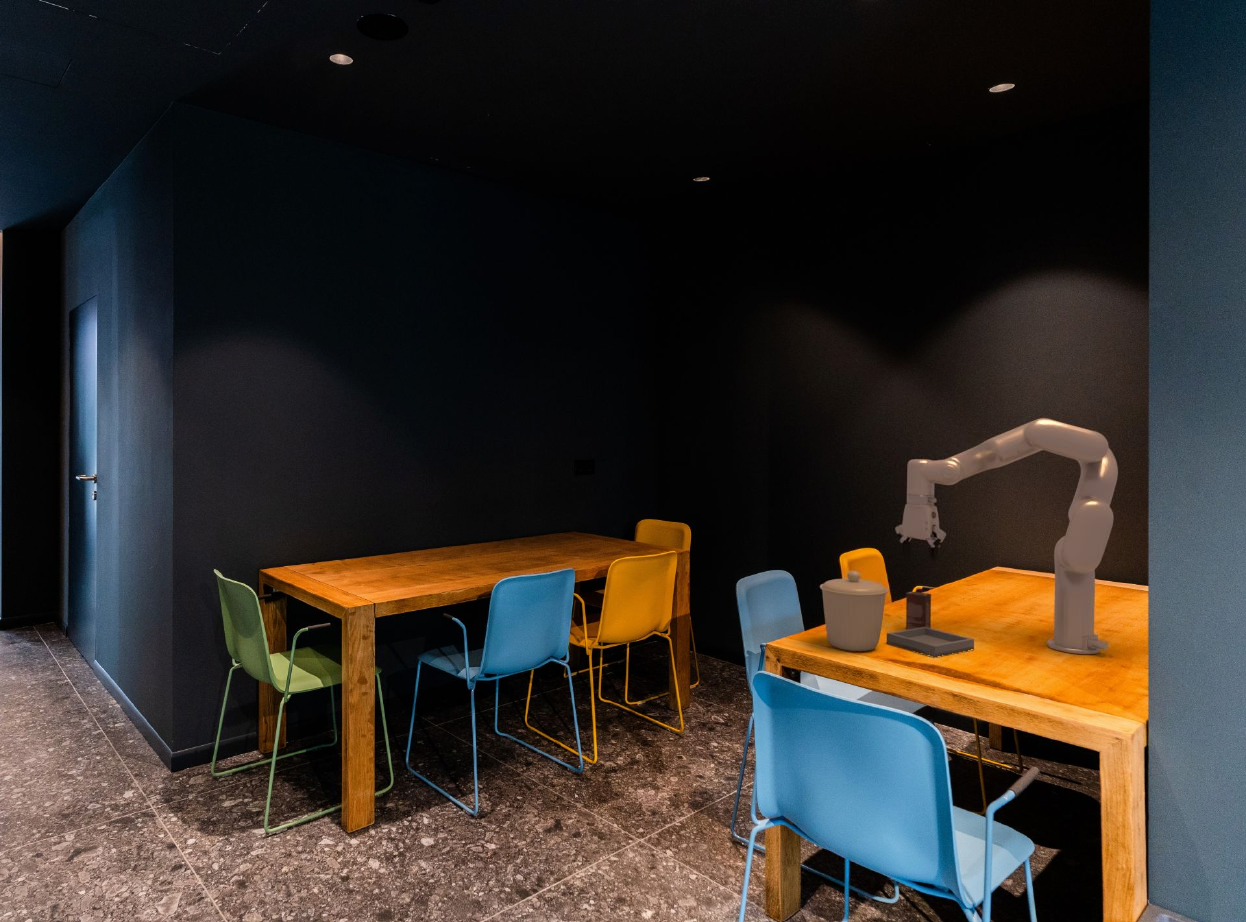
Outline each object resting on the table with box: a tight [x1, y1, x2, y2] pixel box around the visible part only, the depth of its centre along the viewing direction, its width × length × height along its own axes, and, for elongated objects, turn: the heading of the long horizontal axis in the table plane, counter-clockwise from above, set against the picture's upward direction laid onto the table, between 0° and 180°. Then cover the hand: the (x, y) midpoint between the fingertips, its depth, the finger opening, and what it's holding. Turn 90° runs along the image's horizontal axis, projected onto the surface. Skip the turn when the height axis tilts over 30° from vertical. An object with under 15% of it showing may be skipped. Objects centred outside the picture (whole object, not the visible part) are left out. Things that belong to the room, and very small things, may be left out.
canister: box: [819, 570, 889, 652], centre depth 209 cm, size 18×18×21 cm
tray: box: [886, 627, 975, 658], centre depth 209 cm, size 16×16×3 cm
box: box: [905, 591, 932, 630], centre depth 225 cm, size 6×4×12 cm
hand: (919, 558), depth 224 cm, fingers open, 9 cm apart
